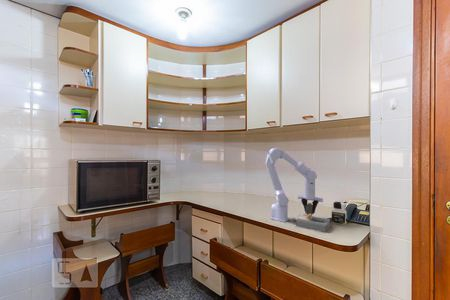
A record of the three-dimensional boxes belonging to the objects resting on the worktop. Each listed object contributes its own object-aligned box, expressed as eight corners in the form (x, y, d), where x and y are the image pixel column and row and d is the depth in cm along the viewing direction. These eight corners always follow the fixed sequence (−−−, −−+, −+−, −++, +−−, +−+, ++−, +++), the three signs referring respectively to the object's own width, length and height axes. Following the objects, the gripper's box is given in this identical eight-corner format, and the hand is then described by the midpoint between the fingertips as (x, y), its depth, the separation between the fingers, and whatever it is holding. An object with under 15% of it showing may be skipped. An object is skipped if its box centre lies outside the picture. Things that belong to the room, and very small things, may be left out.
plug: (305, 215, 135) (305, 203, 135) (307, 214, 138) (307, 202, 138) (312, 216, 132) (312, 204, 132) (314, 215, 135) (314, 203, 135)
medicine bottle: (331, 223, 129) (331, 202, 129) (333, 220, 135) (333, 200, 135) (345, 225, 125) (345, 204, 126) (346, 222, 131) (346, 202, 131)
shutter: (294, 218, 127) (294, 214, 127) (299, 216, 132) (299, 211, 132) (308, 221, 122) (308, 216, 122) (311, 218, 128) (312, 213, 128)
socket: (296, 226, 124) (296, 218, 124) (303, 220, 133) (303, 214, 133) (325, 232, 115) (325, 224, 115) (330, 226, 124) (330, 219, 124)
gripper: (324, 190, 134) (324, 212, 134) (300, 187, 143) (300, 208, 143) (321, 192, 128) (321, 215, 128) (296, 189, 137) (296, 211, 137)
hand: (309, 212), depth 135 cm, fingers closed on plug, 4 cm apart
